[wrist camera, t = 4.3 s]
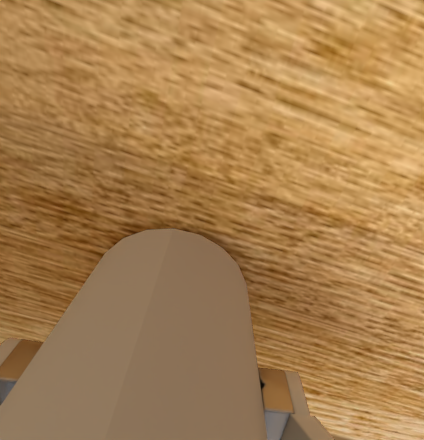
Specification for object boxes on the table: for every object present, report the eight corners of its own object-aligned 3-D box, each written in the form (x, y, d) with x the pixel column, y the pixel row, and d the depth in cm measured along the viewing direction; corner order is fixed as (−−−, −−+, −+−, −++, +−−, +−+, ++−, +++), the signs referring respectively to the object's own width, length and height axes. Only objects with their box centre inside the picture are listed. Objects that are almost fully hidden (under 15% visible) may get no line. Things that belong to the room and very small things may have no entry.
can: (103, 335, 17) (-111, 795, 6) (94, 212, 14) (-383, 695, 3) (236, 347, 17) (266, 819, 6) (256, 227, 14) (392, 748, 3)
